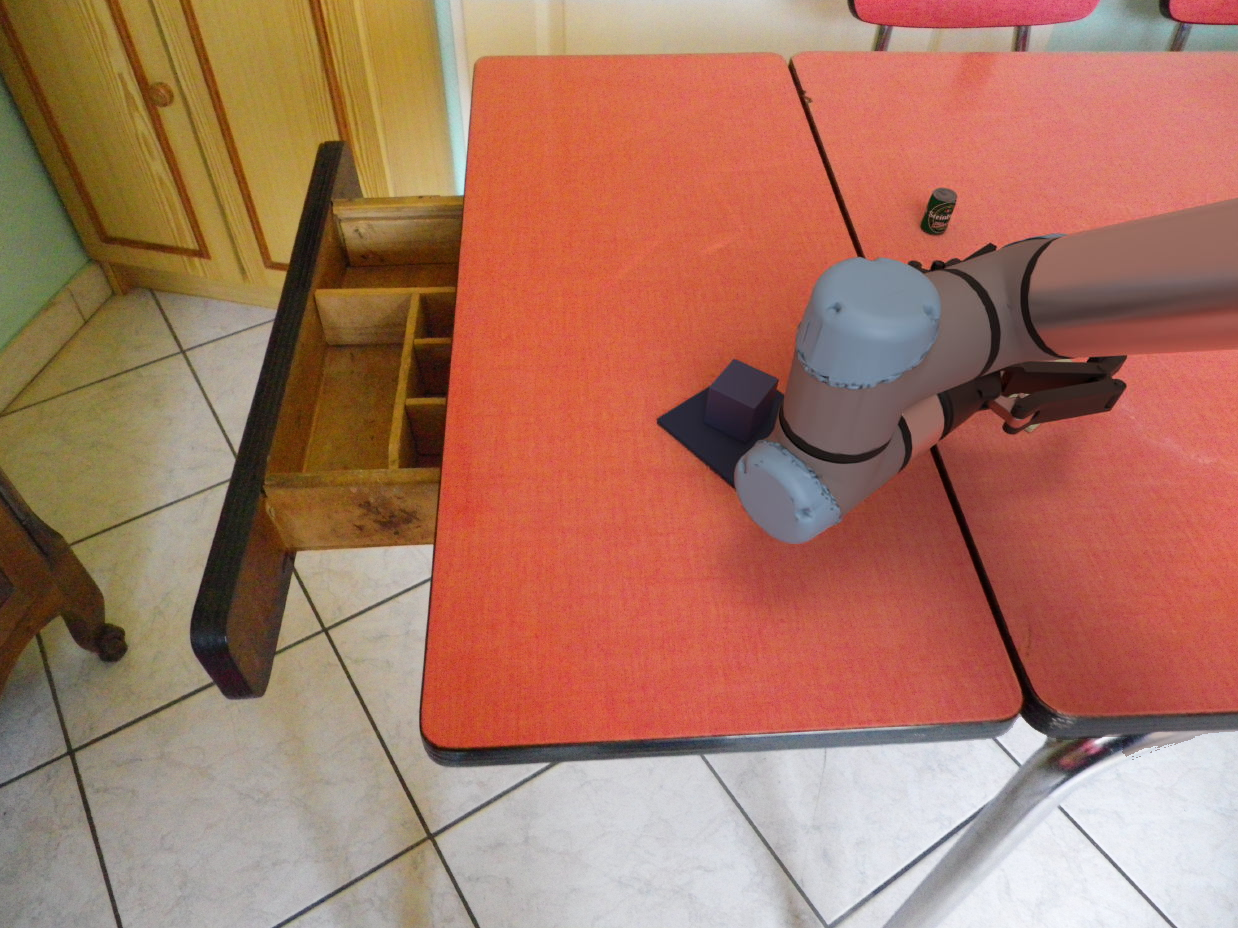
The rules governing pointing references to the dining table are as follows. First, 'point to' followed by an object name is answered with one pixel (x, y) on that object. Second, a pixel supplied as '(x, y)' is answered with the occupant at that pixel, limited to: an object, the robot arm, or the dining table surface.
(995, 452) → the dining table surface
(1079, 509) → the dining table surface
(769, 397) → the navy block
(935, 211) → the beer can
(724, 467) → the dark mat
